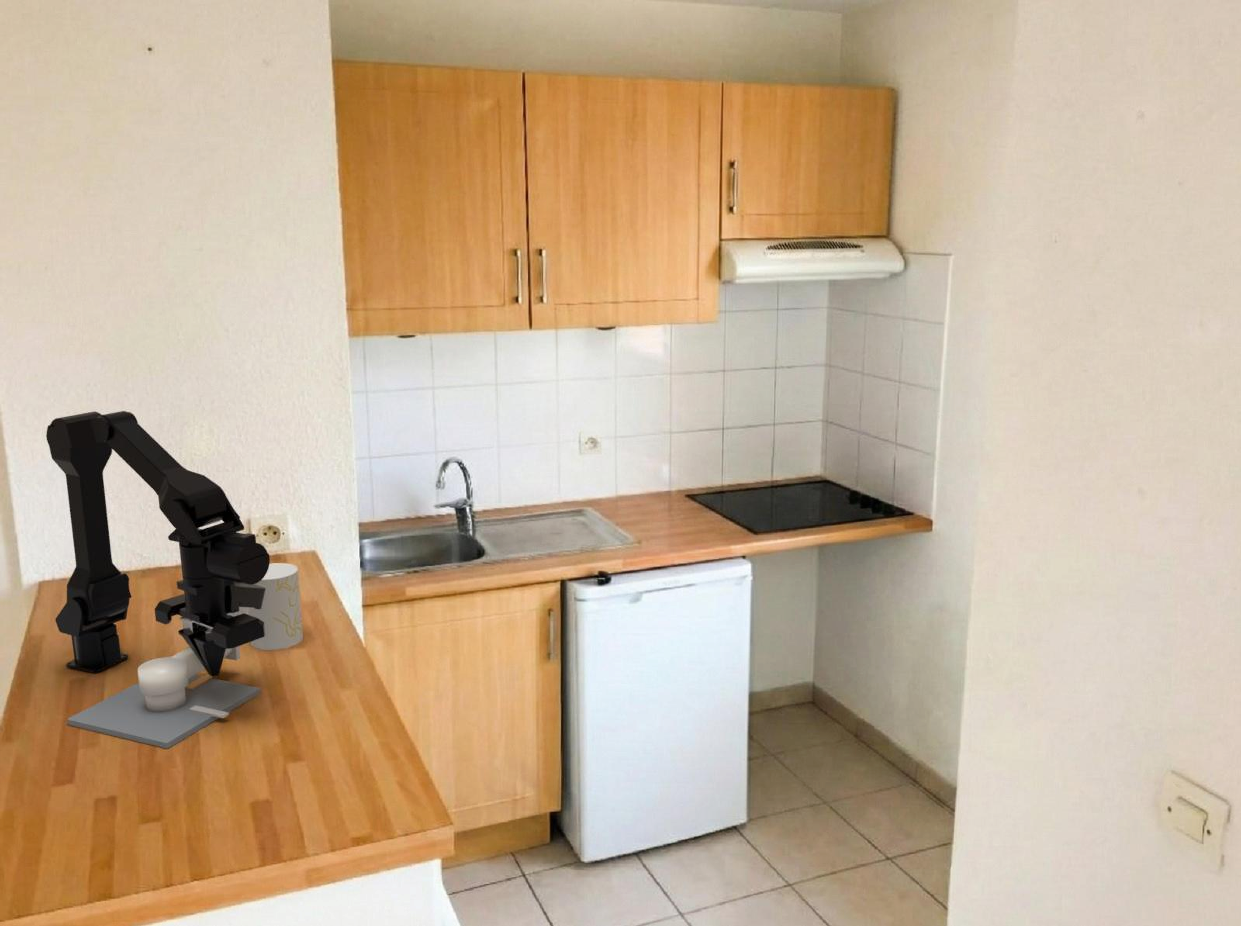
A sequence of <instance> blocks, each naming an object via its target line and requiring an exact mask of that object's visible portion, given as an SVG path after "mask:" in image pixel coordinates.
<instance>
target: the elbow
mask: <svg viewBox="0 0 1241 926" xmlns="http://www.w3.org/2000/svg"><path fill="white" fill-rule="evenodd" d="M240 652H241V651H240V646H238V647H235V648H231V649H226V651H225V654H224V658H223V660H224V659H225V660H231V661H232V660H233V661H238V660H240V659H241V655H240V654H241V653H240ZM204 670H206V669H205V668H204V666H203V665H202V663H201V662H200V660H199V659H198V657H197V656H196V655H195V653H194V652H193V650H192V649H191V648H190V646H188V647H186V648H183V650H181V651H179V652H177V653H176V654H174V655H172V656H163V657H157V658H153V659H150V660H148V661H145V662H144V663H142V664H140V665H139V666H138V668H137V676H138V677H137V679H138V683H139V687H140V692H141V693H143V694H145V695H151V696H159V695H167V694H171V693H174V692H177V691H180V690H182V689H183V688H185V687H186V686H187V685H188V683H189V681H188V679H189V678H191V677H192V676H194V675H198V674H200V673H201V672H203V671H204Z"/></svg>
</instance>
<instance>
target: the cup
mask: <svg viewBox="0 0 1241 926" xmlns="http://www.w3.org/2000/svg"><path fill="white" fill-rule="evenodd" d="M255 585H258V586H261V587H264V588H266V590H265V594H264V599H263V603H262V608H261V609H255V608H250V607H248V611H249V615H250V616H253V617H256V618H258V619H260V620H261V621H263V622H264V625H265V636H264V637H262V638H260V639H257V640H254V641H251V642H250V643H251V646H252V647H253V648H255V649H257V650H261V651H277V650H284V649H288V648H292V647H294V646H296V645H298V644H299V643H301V642H302V641H303V638H304V636H303V622H302V621H303V620H302V609H301V608H302V607H301V606H302V605H301V595H300V594H301V593H300V580H299V569H298V566H297V565H294V564H292V563H285V562H276V563H274V562H273V563H270V564H269V568H268V571H267V573H266V575H265V576H264V578H263V579H262V580H261V581H259V582H258V583H256V584H255Z"/></svg>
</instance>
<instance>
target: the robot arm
mask: <svg viewBox="0 0 1241 926" xmlns="http://www.w3.org/2000/svg"><path fill="white" fill-rule="evenodd" d="M46 442H47V444H48V447H49V453H50V456H51V459H52V461H54V463H55V464H56V465H57V467H59V469H60V470H62V472H63V473H64V474H65V479H66V488H67V497H68V499H67V500H68V504H69V515H70V524H71V532H72V533H71V534H72V540H73V551H74V559H75V568H74V570H73V572H72V574H71V576H70V578H69V580H68V582H67V584H66V603H65V605H63V607H62V608H61V610H60V611H59V613H58V614H57V616H56V618H55V624H56V626H57V629H58V632H59V633H62V634H65V635H69V636H71V644H72V652H73V660H70V661H68V662H66V664H65V665H66V668H71V669H75V670H80V671H85V672H88V673H89V672H90V673H100V672H101V671H104V670H105V669H108V668H109V667H112V666H114V665H116V664H118V663H120V662H122V661H124V660H127V659H128V658H129V654H127V653H123V652H121V644H120V638H119V637H120V635H118V631H117V630H118V627H117V624H115V623H118V622H121V621H124V620H127V617H128V610H129V605H130V599H131V598H132V597H133V596H132V594H131V591H130V578H129V575H128V574H127V573H122V571H120V570H119V568H118V567H117V566H116V565H115V564H114V563H113V557H112V548H111V547H112V546H111V539H110V537H111V536H110V530H109V528H110V527H109V520H108V509H107V500H106V491H105V482H104V470H105V468H106V466H107V464H108V462H109V460H110V458H111V456H112V454H113V451H114V452H115V453H116V454H117V455H118V457H120V458H121V459H122V460H123V461H124V463H126V464H127V465H128V466H129V467H130V468H131V469H132V470H133V472H134V473H136V474H137V475H138V476H139V477H140V478H141V479H142V480H143V481H144V482H145V483H146V484H147V485H148V486H149V488H151V489H152V490H153V491H154V493H155V494H156V496H158V497H157V498H158V506H159V507H158V508H159V510H160V511H161V512H162V514H163V515H164V516H165V518H166V519H167V520H168V522H169V523H170V524H171V525H172V527H174V528H175V529H174V530H173V531H172V532H171V533H169V535H168V536H167V539H168V540H169V542H170V541H171V542H175V543H178V546H179V547H178V548H179V555H180V566H181V573H182V579H181V580H178V581H176V587H177V589H178V590H181V591H183V593H182V594H178V595H175V596H173V597H169V598H166V599H163V600H160V601H159V602H158V603H157V605H156V606H155V608H154V615H155V616H154V617H155V622H158V623H161V624H163V625H168V624H170V623H171V621H172V620H173V619H172V617H174V616H180V617H179V621H181V622H182V629H179V630H178V631H177V633H178V635H180V636H181V637H182V639H184V641H185V642H186V643H187V645H188V647H190V648H191V649H192V650H193V652H194V653H195V655H196V656H197V657H198V659H199V660H200V662H201V663H202V665H203V666H204V668H205V669H204V670H206V673H208V674H209V675H210V676H212V678H213V677H216V676H219V675H220V672H221V669H222V665H223V661H224V654H225V651H226V649H231V648H235V647H238V646H239V647H241V646H242V645H246V644H248V643H251V641H254V640H257V639H260V638H262V637H264V636H265V625H264V622H263V621H261V620H260V619H258V618H256V617H253V616H250V615H247V614H245V613H243V614H240V615H237V616H234V617H233V616H231V615H228V614H229V613H235V612H238V611H239V607H250V608H255V609H261V608H262V603H263V599H264V594H265V590H266V588H264V587H261V586H258V585H255V584H256V583H258V582H259V581H261V580H262V579H263V578H264V576H265V575H266V573H267V571H268V568H269V564H271V561H270V560H271V558H270V553H268V551H267V548H266V547H265V546H264V545H263V544H262V543H259V542H257V538H256V535H255V533H242V532H241V531H244V530H245V525H244V523H243V522H242V521H241V516H240V514H238V512H236V510H235V509H234V507H233V505H232V503H231V502H230V501H229V498H228V497H227V494H226V493H225V490H224V489H223V488H222V487H221V485H219V484H217V483H216V482H215V481H214V480H211V479H210V478H209V477H207V476H206V475H204V474H201V473H199V472H195V471H191V470H188V469H187V468H185V467H184V466H182V464H180V463H179V462H178V461H177V460H176V459H175V458H174V457H173V456H172V455H171V454H170V453H169V452H168V451H167V450H166V449H165V448H164V447H163V446H161V444H160V443H158V442H157V441H156V439H155V438H153V437H152V436H151V434H149V433H148V432H147V430H146V429H144V428H143V427H142V426H141V425H140V424H139V423H138V419H137V417H136V416H135V415H134V414H133V413H132V412H130V411H126V410H125V411H124V410H121V411H116V412H110V413H106V414H105V413H104V414H101V412H98V411H90V412H83V413H77V414H73V415H67V416H61V417H57V418H54V419H52V421H51V422H50V424H49V425H47V428H46ZM220 521H222V522H220ZM218 522H220V523H218ZM215 523H218V524H215ZM212 524H214V525H212ZM209 525H212V526H209ZM207 526H208V527H207ZM202 527H205V528H202Z"/></svg>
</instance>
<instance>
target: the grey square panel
mask: <svg viewBox="0 0 1241 926" xmlns="http://www.w3.org/2000/svg"><path fill="white" fill-rule="evenodd" d="M188 681H189V683H188V685H187V686H186V687H185V688H183V689H182V690H180V691H177V692H174V693H171V694H167V695H159V696H151V695H145V694H143V693H141V692H140V687H139V682H137V683H135V684H133V685H131V686H129V687H127V688H125V689H123V690H121V691H120V692H117V693H116V694H113V695H112V696H110V697H108V698H106V699H103V700H101V701H99V702H97V703H96V704H94V705H92V706H90V707H88V708H85V709H84V710H81V711H80V712H78V713H76V714H74V715H73V716H70V717H69V718H66V724H67V725H68V726H72V727H76V728H78V729H79V728H80V729H84V730H89V731H92V732H97V733H100V734H105V735H110V736H114V737H118V738H121V739H126V740H129V741H134V742H137V743H138V742H139V743H141V744H147V745H151V746H155V747H158V748H162V749H169V748H171V747H173V746H175V745H176V744H178V743H179V742H181V741H183V740H184V739H186V738H188V737H190V736H192V735H194V733H196V732H198V731H199V730H201V729H203V728H204V727H206V726H209V724H211V723H213V722H215V721H216V720H218V719H224V718H226V717H227V716H230V712H231V711H233V710H235V709H237V708H238V707H240V706H241V705H243V704H245V703H246V702H249V701H250V700H251V699H253V698H254V697H255V698H256V697H257V696H258V695H260V694H261V687H256V686H252V685H246V684H242V683H237V682H233V681H232V682H231V681H227V680H222V679H218V678H213V677H212V676H210V675H209V674H208V672H206V674H203V675H198V674H196V675H194V676H192V677H191V678H189V679H188Z"/></svg>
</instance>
